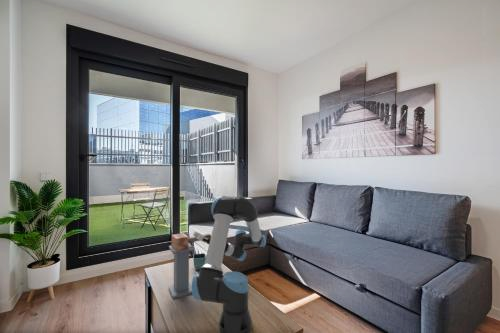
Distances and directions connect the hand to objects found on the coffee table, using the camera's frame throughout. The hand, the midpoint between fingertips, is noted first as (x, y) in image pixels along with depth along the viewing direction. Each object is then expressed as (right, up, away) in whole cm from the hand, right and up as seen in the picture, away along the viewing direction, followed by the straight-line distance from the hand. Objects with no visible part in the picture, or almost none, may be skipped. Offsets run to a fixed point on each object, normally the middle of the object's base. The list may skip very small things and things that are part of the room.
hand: (196, 235), depth 140 cm
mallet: (-2, -6, -1) cm, 6 cm away
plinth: (-8, -32, -5) cm, 33 cm away
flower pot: (-4, -32, +27) cm, 42 cm away
